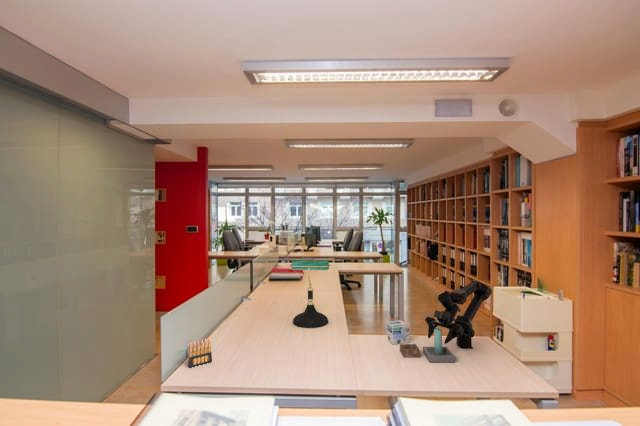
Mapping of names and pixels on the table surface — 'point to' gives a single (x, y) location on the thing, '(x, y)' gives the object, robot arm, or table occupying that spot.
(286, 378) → the table surface
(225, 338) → the table surface
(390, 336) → the light bulb box
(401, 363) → the table surface
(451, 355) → the tray
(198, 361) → the ammunition clip
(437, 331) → the dowel
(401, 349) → the socket block
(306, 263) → the banker's lamp
